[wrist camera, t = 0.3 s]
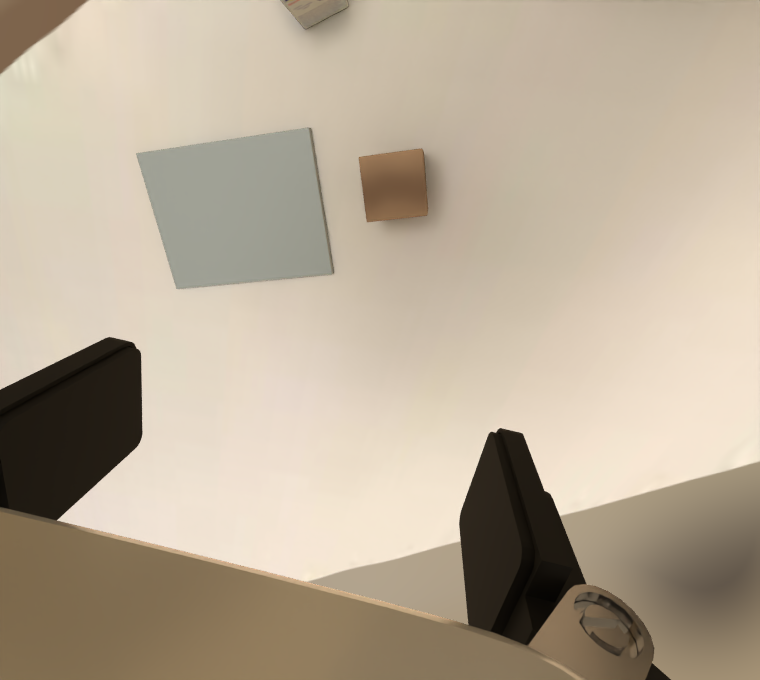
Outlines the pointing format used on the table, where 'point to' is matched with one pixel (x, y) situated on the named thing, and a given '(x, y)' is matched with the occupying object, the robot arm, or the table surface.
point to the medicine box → (313, 10)
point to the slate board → (239, 209)
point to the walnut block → (394, 185)
